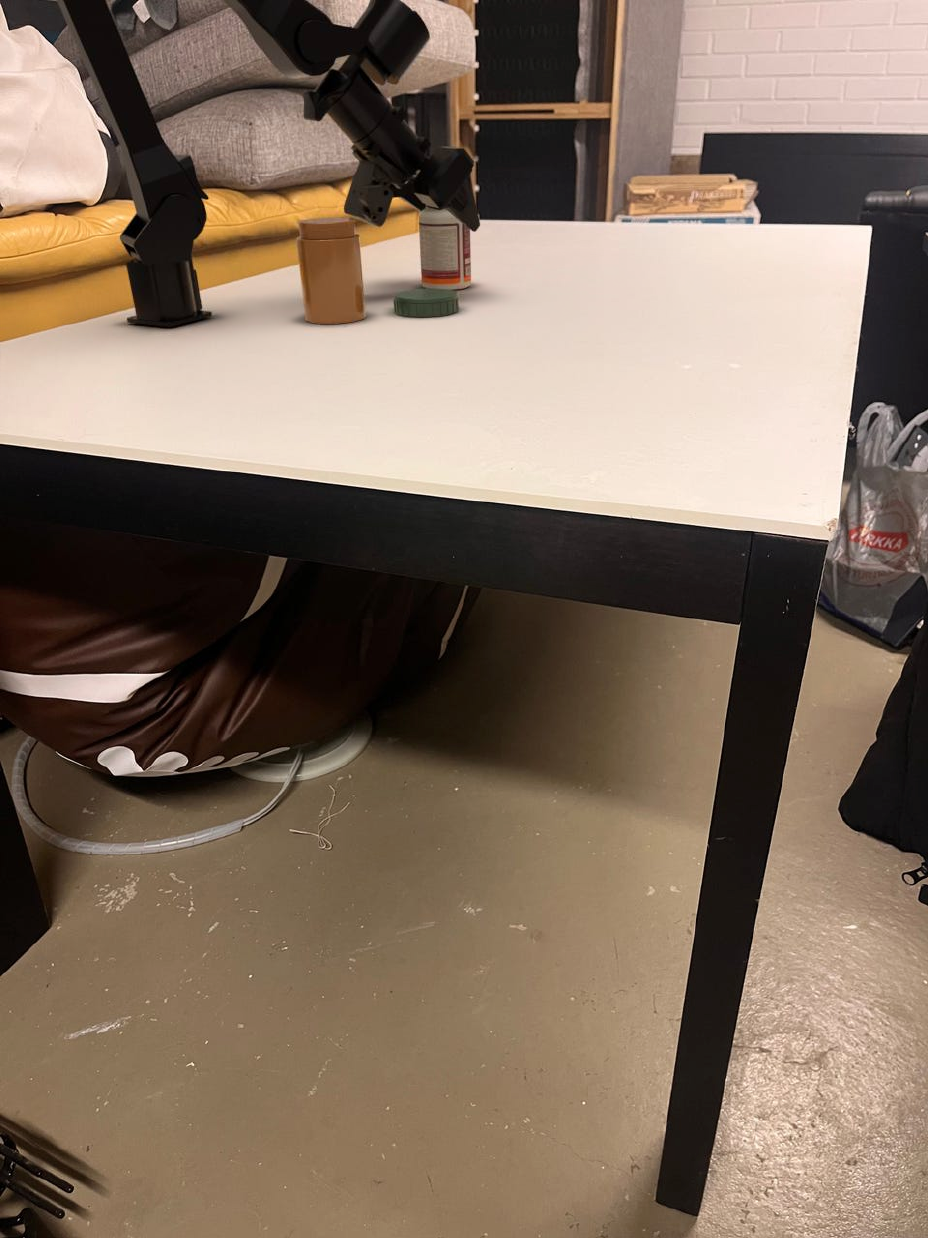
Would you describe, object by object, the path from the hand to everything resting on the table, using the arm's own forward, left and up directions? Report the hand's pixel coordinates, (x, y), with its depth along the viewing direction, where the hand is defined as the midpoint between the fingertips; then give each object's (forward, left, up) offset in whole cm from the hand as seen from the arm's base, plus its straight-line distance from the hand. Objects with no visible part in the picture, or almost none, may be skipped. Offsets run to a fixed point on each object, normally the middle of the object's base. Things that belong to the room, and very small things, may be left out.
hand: (457, 223), depth 105 cm
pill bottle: (-1, +1, -7) cm, 8 cm away
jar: (-23, +2, -7) cm, 24 cm away
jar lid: (-16, -5, -6) cm, 18 cm away
